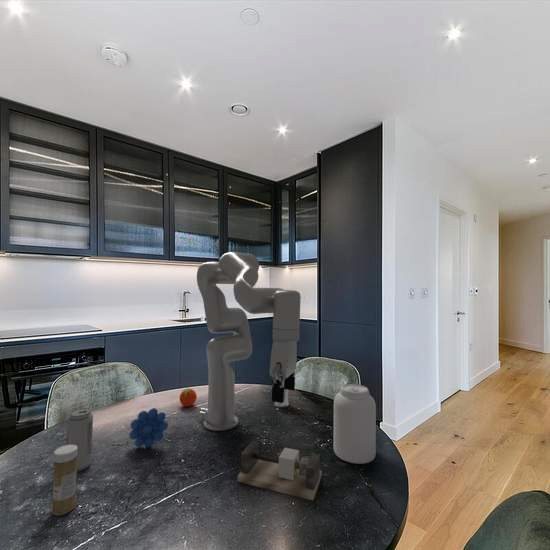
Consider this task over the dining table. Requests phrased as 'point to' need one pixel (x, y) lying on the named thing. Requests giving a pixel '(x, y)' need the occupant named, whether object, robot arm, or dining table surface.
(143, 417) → the grapes
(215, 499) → the dining table surface
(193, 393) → the clementine
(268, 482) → the small bench vise
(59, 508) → the pill bottle
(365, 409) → the can
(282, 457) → the sleeve
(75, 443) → the energy drink can
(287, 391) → the beer glass
